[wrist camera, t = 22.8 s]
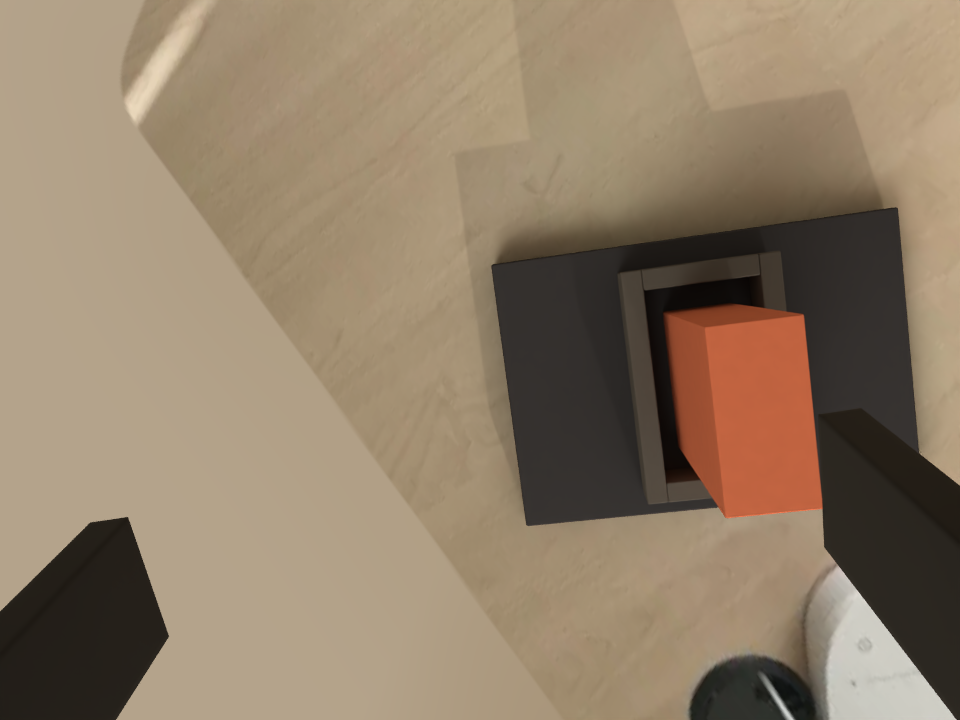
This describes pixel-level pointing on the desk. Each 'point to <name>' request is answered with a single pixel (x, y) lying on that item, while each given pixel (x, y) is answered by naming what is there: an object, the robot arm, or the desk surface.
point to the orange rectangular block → (745, 406)
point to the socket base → (644, 360)
